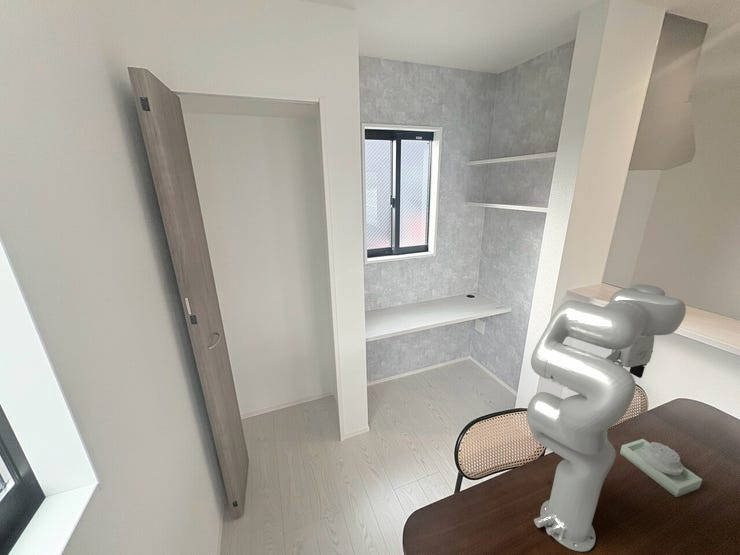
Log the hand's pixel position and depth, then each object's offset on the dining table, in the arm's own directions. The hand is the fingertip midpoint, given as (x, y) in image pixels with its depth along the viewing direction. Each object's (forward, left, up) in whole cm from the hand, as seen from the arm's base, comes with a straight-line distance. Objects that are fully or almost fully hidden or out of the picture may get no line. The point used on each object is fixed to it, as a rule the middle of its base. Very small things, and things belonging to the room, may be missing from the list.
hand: (623, 378), depth 89 cm
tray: (+15, -7, -33) cm, 37 cm away
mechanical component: (+15, -7, -30) cm, 34 cm away
